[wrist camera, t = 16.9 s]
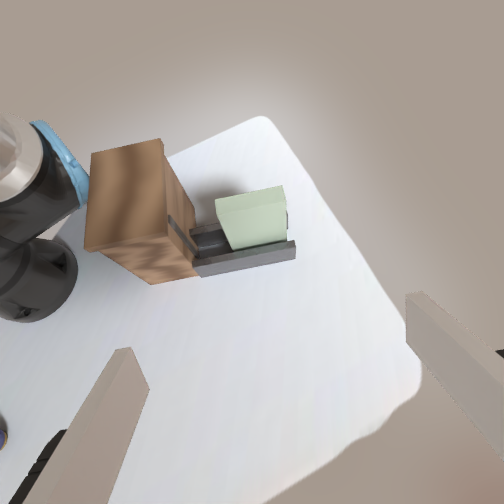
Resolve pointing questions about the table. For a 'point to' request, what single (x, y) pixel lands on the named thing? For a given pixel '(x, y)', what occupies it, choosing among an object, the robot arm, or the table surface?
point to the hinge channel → (236, 259)
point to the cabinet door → (253, 218)
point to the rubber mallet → (2, 439)
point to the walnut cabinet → (140, 213)
